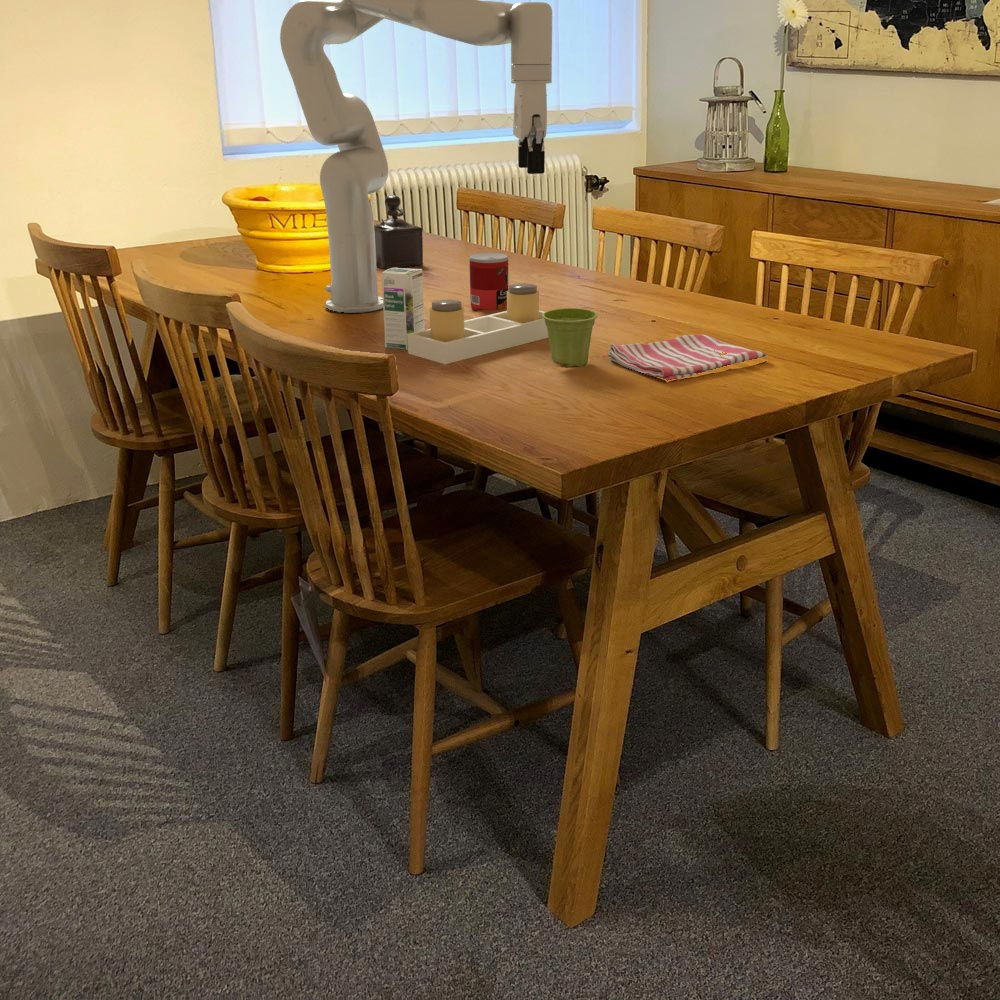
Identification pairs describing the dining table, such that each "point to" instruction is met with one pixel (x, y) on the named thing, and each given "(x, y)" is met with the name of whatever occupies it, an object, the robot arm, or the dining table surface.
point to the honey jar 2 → (522, 303)
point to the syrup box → (402, 305)
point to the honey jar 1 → (447, 320)
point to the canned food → (488, 281)
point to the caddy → (477, 338)
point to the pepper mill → (397, 239)
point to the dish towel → (680, 356)
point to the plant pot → (569, 334)
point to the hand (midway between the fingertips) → (531, 170)
